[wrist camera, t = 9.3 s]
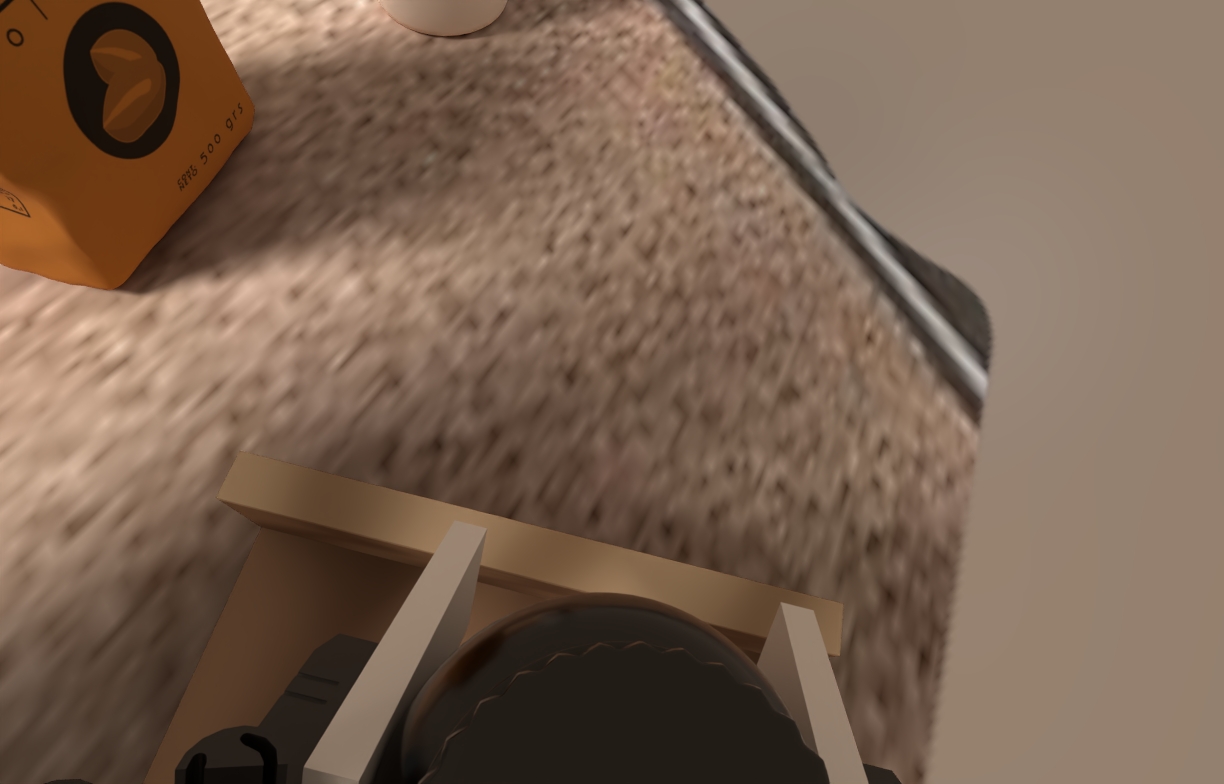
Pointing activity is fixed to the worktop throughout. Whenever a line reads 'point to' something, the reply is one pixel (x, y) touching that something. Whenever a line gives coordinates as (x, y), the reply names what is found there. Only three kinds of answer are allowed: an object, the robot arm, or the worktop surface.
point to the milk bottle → (444, 14)
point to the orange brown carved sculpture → (108, 130)
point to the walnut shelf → (409, 586)
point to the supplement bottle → (598, 704)
